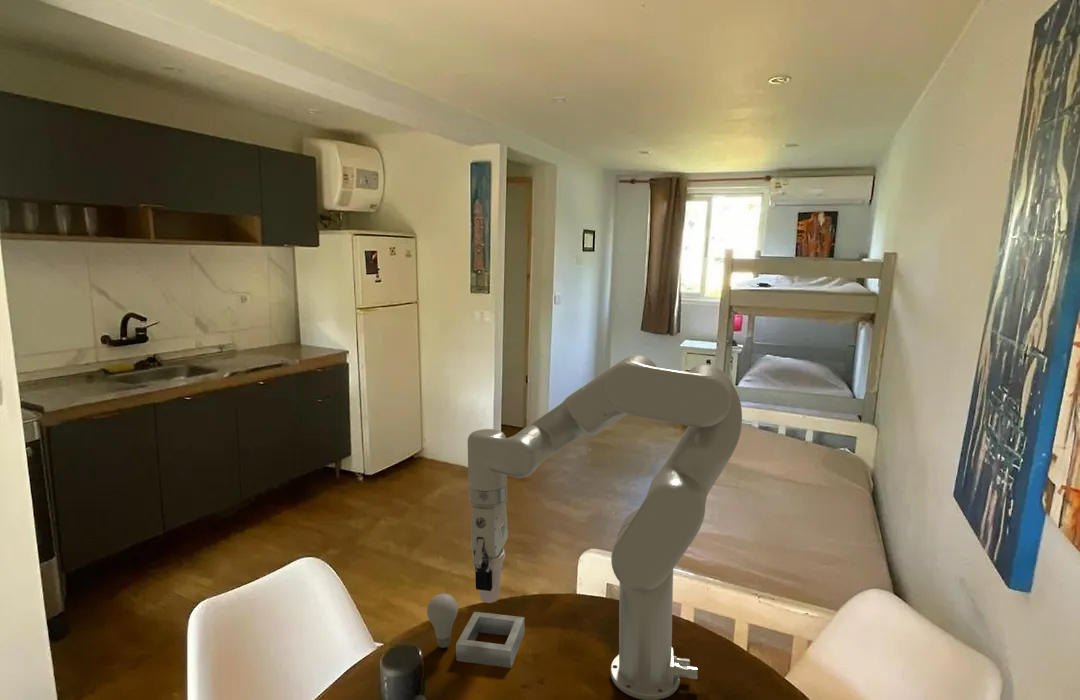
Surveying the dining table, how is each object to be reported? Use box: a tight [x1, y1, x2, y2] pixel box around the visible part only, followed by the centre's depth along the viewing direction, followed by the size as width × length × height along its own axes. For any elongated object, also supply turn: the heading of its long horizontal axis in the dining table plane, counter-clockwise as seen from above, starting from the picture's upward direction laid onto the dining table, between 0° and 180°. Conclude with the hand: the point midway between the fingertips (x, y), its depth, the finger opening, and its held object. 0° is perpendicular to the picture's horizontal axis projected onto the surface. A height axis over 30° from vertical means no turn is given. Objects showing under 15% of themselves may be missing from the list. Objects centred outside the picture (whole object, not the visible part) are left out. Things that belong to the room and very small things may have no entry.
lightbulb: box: [426, 593, 459, 649], centre depth 112 cm, size 6×6×11 cm
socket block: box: [455, 611, 526, 669], centre depth 113 cm, size 11×11×4 cm
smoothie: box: [472, 548, 506, 604], centre depth 111 cm, size 6×6×14 cm
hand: (489, 579), depth 111 cm, fingers closed on smoothie, 6 cm apart
